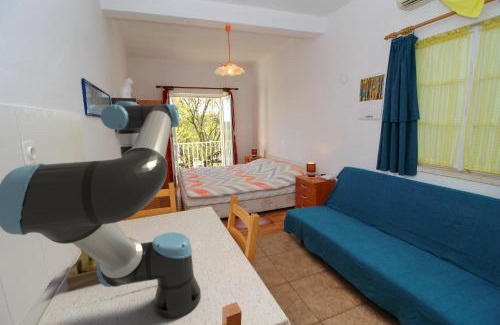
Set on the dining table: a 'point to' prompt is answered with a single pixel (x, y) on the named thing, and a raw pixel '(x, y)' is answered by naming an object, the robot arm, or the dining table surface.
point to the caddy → (81, 276)
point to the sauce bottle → (88, 262)
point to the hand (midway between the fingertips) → (138, 200)
